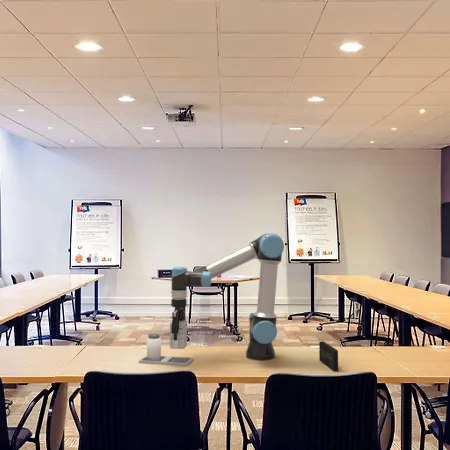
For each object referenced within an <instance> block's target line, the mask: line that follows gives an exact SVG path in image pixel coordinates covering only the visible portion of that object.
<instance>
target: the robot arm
mask: <svg viewBox="0 0 450 450" xmlns="http://www.w3.org/2000/svg"><path fill="white" fill-rule="evenodd" d="M284 250H285V243H284V240H283V238H282V237H281V235H278V234H276V233H273V232H271V233H270V232H269V233H265V234H262V235H261V236H259V237H257V238H256V239H254V240H252V241H251V242H249V243H248V245H246V246H245V247H242V248H240V249H238V250H236V251H233V252H231V253H229V254H227V255H226V256H223V257H221V258H219V259H217V260H215V261H213V262H211V263H209V264H207V265H205V266H202V267H200V268H196V269H195V270H194V271H189V270H188V268H187V267H185V266H175V267H172V268H171V291H170V294H171V300H170V301H171V303H170V305H171V307H172V308H174V310H173V312H171V315H172V316H171V319H172V320H171V322H172V331H171V333H173V347H179V333H178V330H179V322H180V321H186V308H185V307H187V305H188V304H187V303H188V302H187V301H188V300H187V297H188V288H189V287H192V288H193V287H196V288H197V287H199V288H200V287H203V288H205V287H208V288H209V287H211V285H212V279H214V278H217V277H218V276H222V275H223V274H225V273H227V272H230V271H231V270H234V269H235V268H238V267H239V266H242V265H244V264H246V263H248V262H250V261H253V260H254V259H256V260H258V261H259V263H260V267H259V268H260V269H259V278H258V279H259V282H258V292H257V293H258V294H257V304H256V311H254V312H251V313H250V314H249V318H248V320H249V327H248V328H249V330H248V331H249V342H248V345H247V348H246V351H245V357H246V358H247V359H248V360H249V359H250V360H254V361H255V360H256V361H267V360H272V359H275V357H276V352H275V348H274V345H273V341H275V339H276V338H277V334H278V328H277V317H278V316H277V315H276V313H275V303H276V293H277V292H276V291H277V281H278V267H279V264H281V262H282V258H283V257H282V255H283V252H284Z"/></svg>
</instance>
